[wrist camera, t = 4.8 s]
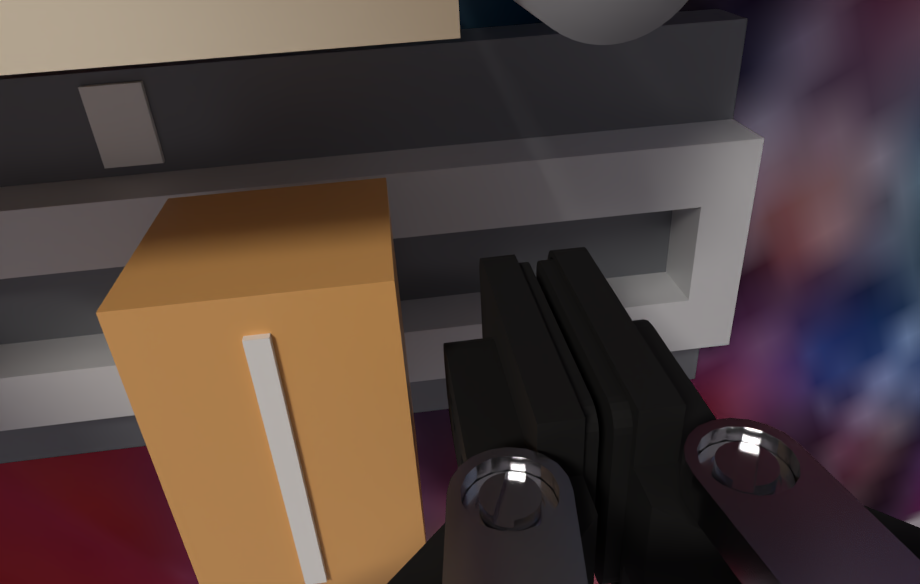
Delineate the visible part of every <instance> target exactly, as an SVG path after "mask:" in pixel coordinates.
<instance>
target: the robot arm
mask: <svg viewBox="0 0 920 584" xmlns="http://www.w3.org/2000/svg"><path fill="white" fill-rule="evenodd" d="M479 274H480V295H481V316H482V337H483V338H481V339H473V340H465V341H456V342H448V343H444V344H443V351H444V365H445V377H446V388H447V398H448V407H449V415H450V422H451V429H452V435H453V441H454V447H455V453H456V459H457V464H458V469H457V470H456V472H455V473H454V474H453V476H452V477H451V479H450V483H449V486H448V490H447V500H446V519H445V524H444V525H443V526H442V527H441V528H440V529H439V530H438V531H437V532H436V533H435V534H434V535H433V536H432V537H431V538H430V539H429V540H428V541H427V542H426V543H425V544H424V545H423V547H422V548H421V549H420V550H419V551H418V552H417V553H416V554H415V555H414V556H413V557H412V558H411V559H410V560H409V561H408V562H407V563H406V564H405V565H404V566H403V567H402V568H401V569H400V570H399V572H398V573H397V574H396V575H395V576H394V577H393V578H392V579H391V580H390V581H389V582H388V583H387V584H593V582H594V574H595V576H596V579H597V581H598V583H599V584H609V583H611V584H920V528H919V527H916V526H914V525H911V524H909V523H906V522H904V521H901V520H899V519H896V518H894V517H891V516H889V515H886V514H884V513H881V512H879V511H876V510H874V509H871V508H869V507H866V506H864V505H862V504H861V503H860V502H859V501H858V500H857V499H856V498H855V497H854V496H853V495H852V494H851V493H850V492H849V491H848V490H847V489H846V488H845V487H844V486H843V485H842V484H841V483H840V482H839V481H838V480H837V479H835V478H834V477H833V476H832V475H831V474H830V473H829V472H828V471H827V470H826V469H825V468H824V467H823V466H822V465H821V464H820V463H819V462H818V461H817V460H816V459H815V458H814V457H813V456H812V455H811V454H810V453H809V452H808V451H806V450H805V449H804V448H803V447H802V446H801V445H800V444H799V443H798V442H796V441H795V440H794V439H792V438H791V437H790V436H788V435H787V434H786V433H784V432H782V431H780V430H778V429H775V428H773V427H771V426H769V425H767V424H763V423H759V422H756V421H752V420H748V419H736V418H725V419H718V420H717V419H716V418H715V416H714V415H713V414H712V412H711V411H710V409H709V408H708V406H707V405H706V403H705V402H704V400H703V399H702V397H701V396H700V394H699V393H698V391H697V390H696V388H695V387H694V385H693V384H692V383H691V381H690V380H689V378H688V377H687V375H686V374H685V372H684V371H683V369H682V368H681V366H680V365H679V363H678V362H677V360H676V359H675V357H674V356H673V354H672V353H671V352H670V350H669V349H668V347H667V346H666V344H665V343H664V341H663V340H662V338H661V337H660V335H659V334H658V332H657V331H656V329H655V328H654V326H653V325H652V324H651V323H650V322H649V321H648V320H644V319H642V320H633V321H632V319H631V318H630V316H629V314H628V313H627V311H626V310H625V308H624V307H623V305H622V303H621V302H620V300H619V299H618V297H617V296H616V294H615V292H614V291H613V289H612V288H611V286H610V285H609V283H608V282H607V280H606V278H605V277H604V275H603V274H602V272H601V271H600V269H599V267H598V266H597V264H596V263H595V261H594V260H593V258H592V256H591V255H590V253H589V252H588V250H587V249H586V248H585V247H577V248H568V249H559V250H550V251H549V253H548V259H547V260H540V261H538V262H537V267H536V276H535V274H534V272H533V269H532V267H531V265H530V263H529V262H522V263H518V260H517V258H516V256H515V254H513V255H504V256H495V257H485V258H480V261H479Z"/></svg>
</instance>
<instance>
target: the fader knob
mask: <svg viewBox="0 0 920 584" xmlns="http://www.w3.org/2000/svg"><path fill="white" fill-rule="evenodd" d="M96 315H97V317H98V320H99V323H100V325H101V328H102V330H103V333H104V336H105V338H106V341H107V344H108V346H109V349H110V351H111V354H112V357H113V359H114V362H115V365H116V367H117V370H118V372H119V375H120V378H121V380H122V383H123V386H124V388H125V391H126V393H127V396H128V399H129V401H130V404H131V407H132V409H133V412H134V414H135V417H136V420H137V422H138V425H139V427H140V430H141V433H142V435H143V438H144V441H145V443H146V446H147V448H148V451H149V454H150V456H151V459H152V462H153V464H154V467H155V469H156V472H157V475H158V477H159V480H160V483H161V485H162V488H163V490H164V493H165V496H166V498H167V501H168V504H169V506H170V509H171V511H172V514H173V517H174V519H175V522H176V525H177V527H178V530H179V532H180V535H181V538H182V540H183V543H184V546H185V548H186V551H187V553H188V556H189V559H190V561H191V564H192V566H193V569H194V572H195V574H196V577H197V580H198V582H199V584H387V583H388V582H389V581H390V580H391V579H392V578H393V577H394V576H395V575H396V574H397V573H398V572H399V570H400V569H401V568H402V567H403V566H404V565H405V564H406V563H407V562H408V561H409V560H410V559H411V558H412V557H413V556H414V555H415V554H416V553H417V552H418V551H419V550H420V549H421V548H422V547H423V545H424V544H425V543H426V533H425V523H424V513H423V503H422V492H421V482H420V472H419V461H418V451H417V441H416V432H415V423H414V415H413V406H412V397H411V389H410V380H409V371H408V363H407V354H406V345H405V337H404V328H403V320H402V311H401V302H400V294H399V285H398V276H397V268H396V259H395V251H394V242H393V233H392V225H391V216H390V207H389V199H388V190H387V181H386V178H376V179H365V180H355V181H344V182H334V183H323V184H313V185H303V186H292V187H282V188H271V189H261V190H250V191H240V192H230V193H219V194H209V195H198V196H188V197H177V198H168V199H167V201H166V202H165V204H164V206H163V207H162V209H161V210H160V212H159V214H158V215H157V217H156V218H155V220H154V221H153V223H152V225H151V226H150V228H149V229H148V231H147V232H146V234H145V236H144V237H143V239H142V240H141V242H140V244H139V245H138V247H137V248H136V250H135V251H134V253H133V255H132V256H131V258H130V259H129V261H128V263H127V264H126V266H125V267H124V269H123V270H122V272H121V274H120V275H119V277H118V278H117V280H116V282H115V283H114V285H113V286H112V288H111V289H110V291H109V293H108V294H107V296H106V297H105V299H104V300H103V302H102V304H101V305H100V307H99V308H98V310H97V312H96Z"/></svg>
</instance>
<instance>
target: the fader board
mask: <svg viewBox="0 0 920 584" xmlns="http://www.w3.org/2000/svg"><path fill="white" fill-rule="evenodd" d="M747 20H748V19H747V18H744V17H741V16H738V15H735V14H732V13H729V12H726V11H723V10H720V9H708V10H695V11H683V12H677V13H676V14H675V15H674V16H673V17H672V18H671V19H669V20H668V21H667V22H665V23H664V24H663V25H661V26H660V27H659V28H657V29H655V30H653V31H652V32H650V33H648V34H646V35H644V36H642V37H639V38H637V39H634V40H631V41H628V42H624V43H619V44H612V45H594V44H586V43H582V42H579V41H575V40H572V39H570V38H568V37H565V36H563V35H561V34H560V33H558V32H557V31H555V30H553V29H552V28H550V27H549V26H548V25H546V24H545V23H533V24H521V25H508V26H496V27H483V28H471V29H460V38H455V39H443V40H430V41H418V42H406V43H394V44H381V45H369V46H357V47H344V48H332V49H320V50H307V51H295V52H283V53H270V54H258V55H246V56H233V57H221V58H209V59H197V60H184V61H172V62H160V63H147V64H135V65H123V66H110V67H98V68H86V69H73V70H61V71H49V72H36V73H24V74H12V75H0V463H8V462H17V461H25V460H33V459H41V458H49V457H58V456H66V455H74V454H82V453H90V452H98V451H107V450H115V449H123V448H131V447H139V446H146V443H145V441H144V438H143V435H142V433H141V430H140V427H139V425H138V422H137V420H136V417H135V414H134V412H133V409H132V407H131V404H130V401H129V399H128V396H127V393H126V391H125V388H124V386H123V383H122V380H121V378H120V375H119V372H118V370H117V367H116V365H115V362H114V359H113V357H112V354H111V351H110V349H109V346H108V344H107V341H106V338H105V336H104V333H103V330H102V328H101V325H100V323H99V320H98V317H97V315H96V312H97V310H98V308H99V307H100V305H101V304H102V302H103V300H104V299H105V297H106V296H107V294H108V293H109V291H110V289H111V288H112V286H113V285H114V283H115V282H116V280H117V278H118V277H119V275H120V274H121V272H122V270H123V269H124V267H125V266H126V264H127V263H128V261H129V259H130V258H131V256H132V255H133V253H134V251H135V250H136V248H137V247H138V245H139V244H140V242H141V240H142V239H143V237H144V236H145V234H146V232H147V231H148V229H149V228H150V226H151V225H152V223H153V221H154V220H155V218H156V217H157V215H158V214H159V212H160V210H161V209H162V207H163V206H164V204H165V202H166V201H167V199H168V198H177V197H188V196H198V195H209V194H219V193H230V192H240V191H250V190H261V189H271V188H282V187H292V186H303V185H313V184H323V183H334V182H344V181H355V180H365V179H376V178H386V181H387V190H388V199H389V207H390V216H391V225H392V233H393V242H394V251H395V259H396V268H397V276H398V285H399V294H400V302H401V311H402V320H403V328H404V337H405V345H406V354H407V363H408V371H409V380H410V389H411V397H412V406H413V413H418V412H426V411H434V410H442V409H449V407H448V398H447V388H446V377H445V365H444V351H443V344H444V343H448V342H456V341H465V340H473V339H481V338H483V337H482V316H481V295H480V274H479V261H480V258H485V257H495V256H504V255H513V254H515V256H516V258H517V260H518V263H522V262H529V263H530V265H531V267H532V269H533V272H534V274H535V276H536V267H537V262H538V261H540V260H547V259H548V253H549V251H550V250H559V249H568V248H577V247H585V248H586V249H587V250H588V252H589V253H590V255H591V256H592V258H593V260H594V261H595V263H596V264H597V266H598V267H599V269H600V271H601V272H602V274H603V275H604V277H605V278H606V280H607V282H608V283H609V285H610V286H611V288H612V289H613V291H614V292H615V294H616V296H617V297H618V299H619V300H620V302H621V303H622V305H623V307H624V308H625V310H626V311H627V313H628V314H629V316H630V318H631V319H632V321H633V320H642V319H644V320H648V321H649V322H650V323H651V324H652V325H653V326H654V328H655V329H656V331H657V332H658V334H659V335H660V337H661V338H662V340H663V341H664V343H665V344H666V346H667V347H668V349H669V350H670V352H671V353H672V354H673V356H674V357H675V359H676V360H677V362H678V363H679V365H680V366H681V368H682V369H683V371H684V372H685V374H686V375H687V377H688V378H689V379H695V374H696V367H697V360H698V353H699V348H704V347H713V346H721V345H729V340H730V334H731V329H732V323H733V317H734V311H735V305H736V300H737V294H738V288H739V282H740V276H741V271H742V265H743V259H744V253H745V247H746V242H747V236H748V230H749V224H750V219H751V213H752V207H753V201H754V195H755V190H756V184H757V178H758V172H759V166H760V161H761V155H762V149H763V143H764V138H763V137H761V136H760V135H758V134H756V133H755V132H753V131H752V130H750V129H748V128H747V127H745V126H743V125H742V124H740V123H739V122H737V121H735V120H734V119H733V115H734V108H735V101H736V95H737V88H738V81H739V74H740V67H741V60H742V54H743V47H744V40H745V33H746V26H747Z"/></svg>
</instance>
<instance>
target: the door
mask: <svg viewBox="0 0 920 584" xmlns="http://www.w3.org/2000/svg"><path fill="white" fill-rule="evenodd" d="M513 1H515V2H516V3H518V4H519V5H520V6H522V7H523V8H524V9H526V10H527V11H529V12H530V13H531V14H533V15H534V16H535V17H537V18H538V19H539V20H541V21H542V22H544V23H545V24H546V25H548V26H549V27H550V28H552V29H553V30H555V31H557V32H558V33H560V34H561V35H563V36H565V37H568V38H570V39H572V40H575V41H579V42H582V43H586V44H594V45H612V44H619V43H624V42H628V41H631V40H634V39H637V38H639V37H642V36H644V35H646V34H648V33H650V32H652V31H653V30H655V29H657V28H659V27H660V26H661V25H663V24H664V23H665V22H667V21H668V20H669V19H671V18H672V17H673V16H674V15H675V14H676V13H677V12H678V11H679V10H680V9H681V8H682V7H683V6H684V5H685V3H686V2H687V1H688V0H513Z"/></svg>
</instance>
